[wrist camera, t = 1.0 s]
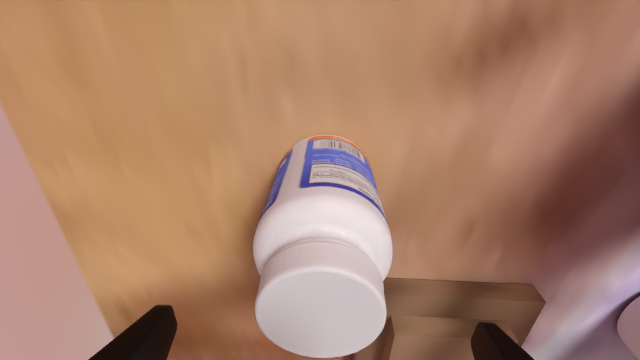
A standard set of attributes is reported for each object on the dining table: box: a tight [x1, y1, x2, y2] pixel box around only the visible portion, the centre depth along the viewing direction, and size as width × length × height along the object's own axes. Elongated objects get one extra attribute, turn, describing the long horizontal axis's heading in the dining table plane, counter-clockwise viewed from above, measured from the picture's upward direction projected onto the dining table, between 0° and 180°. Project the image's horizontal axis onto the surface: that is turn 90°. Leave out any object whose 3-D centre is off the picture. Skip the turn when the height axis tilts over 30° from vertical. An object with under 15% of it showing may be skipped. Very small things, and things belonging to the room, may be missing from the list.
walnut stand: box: [352, 278, 546, 360], centre depth 22 cm, size 12×12×3 cm
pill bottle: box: [253, 135, 393, 358], centre depth 13 cm, size 5×5×10 cm
